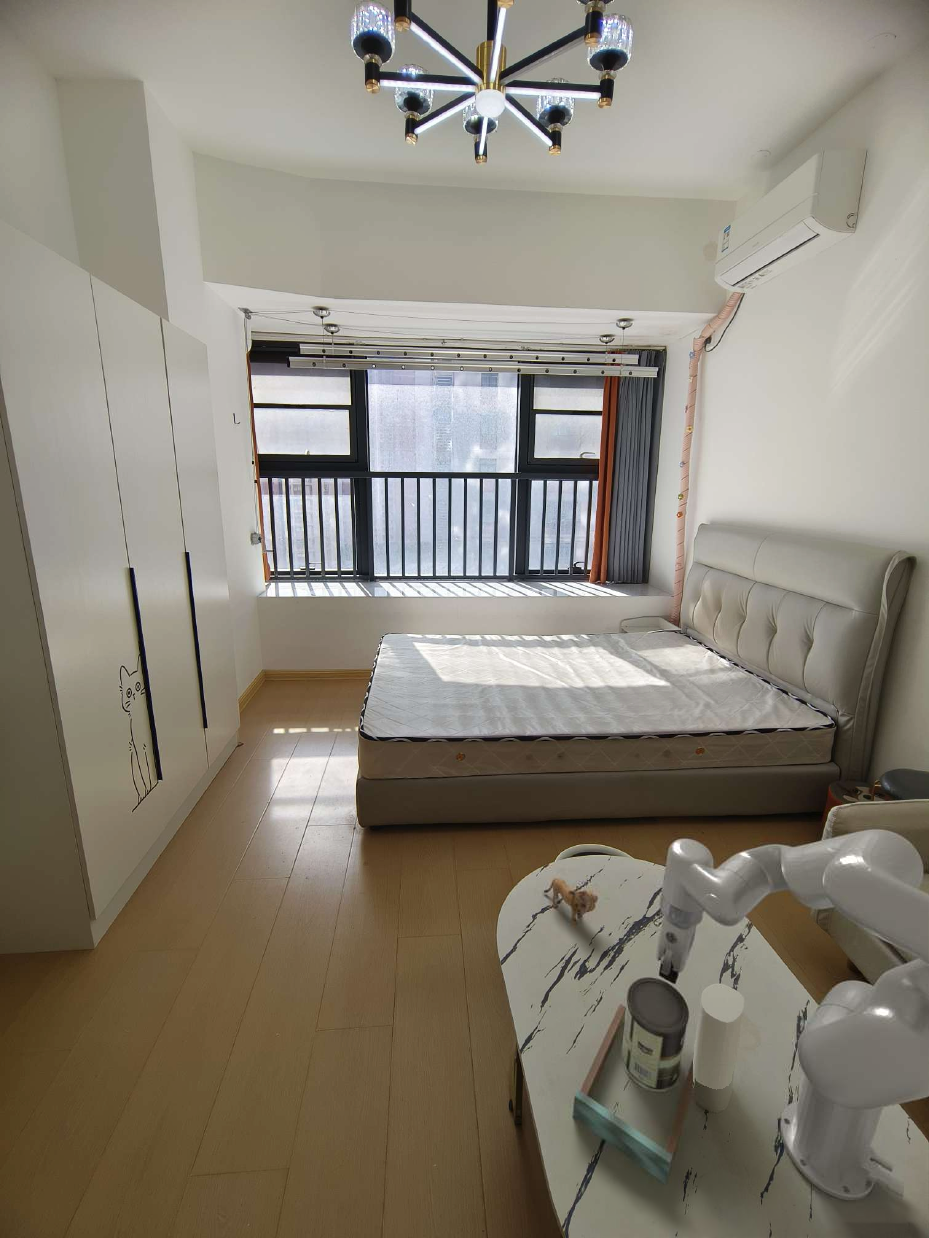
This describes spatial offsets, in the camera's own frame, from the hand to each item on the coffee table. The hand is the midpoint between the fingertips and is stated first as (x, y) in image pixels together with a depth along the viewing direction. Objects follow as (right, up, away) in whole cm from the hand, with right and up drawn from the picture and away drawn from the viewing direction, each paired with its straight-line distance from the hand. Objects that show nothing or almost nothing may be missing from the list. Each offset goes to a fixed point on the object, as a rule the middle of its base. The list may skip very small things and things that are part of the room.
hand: (668, 976), depth 107 cm
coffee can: (-6, -11, -7) cm, 14 cm away
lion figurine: (-14, -1, +26) cm, 30 cm away
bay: (-9, -12, -11) cm, 18 cm away
